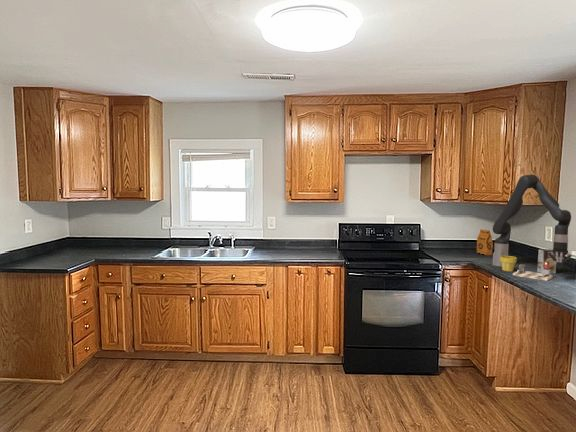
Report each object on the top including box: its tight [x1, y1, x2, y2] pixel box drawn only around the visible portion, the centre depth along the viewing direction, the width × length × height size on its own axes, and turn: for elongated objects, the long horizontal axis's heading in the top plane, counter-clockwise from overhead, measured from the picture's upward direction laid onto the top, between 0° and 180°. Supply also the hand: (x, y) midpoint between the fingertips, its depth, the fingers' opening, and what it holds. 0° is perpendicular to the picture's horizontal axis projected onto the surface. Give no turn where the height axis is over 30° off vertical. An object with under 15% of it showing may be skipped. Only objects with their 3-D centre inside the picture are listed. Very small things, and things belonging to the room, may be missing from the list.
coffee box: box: [536, 248, 557, 274], centre depth 271 cm, size 9×6×16 cm
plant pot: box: [500, 255, 518, 272], centre depth 277 cm, size 10×10×10 cm
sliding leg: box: [542, 261, 551, 277], centre depth 253 cm, size 4×8×9 cm, turn 131°
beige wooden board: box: [512, 263, 554, 282], centre depth 258 cm, size 20×12×6 cm, turn 41°
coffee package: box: [476, 229, 494, 256], centre depth 343 cm, size 10×12×22 cm
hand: (559, 268), depth 249 cm, fingers closed
